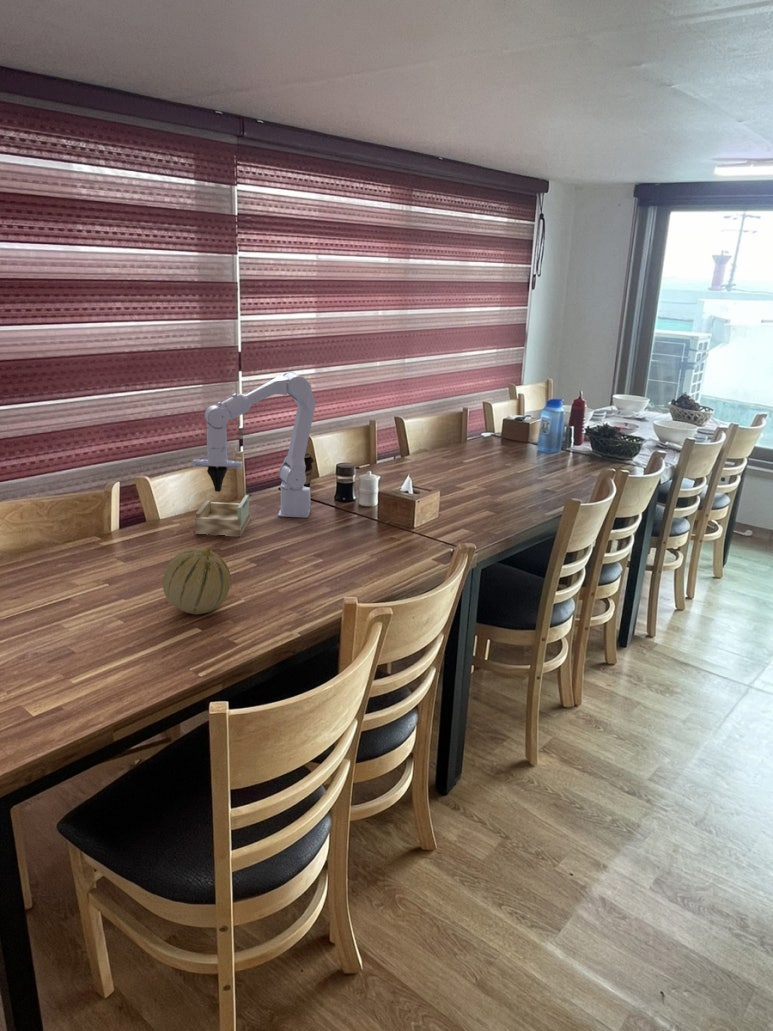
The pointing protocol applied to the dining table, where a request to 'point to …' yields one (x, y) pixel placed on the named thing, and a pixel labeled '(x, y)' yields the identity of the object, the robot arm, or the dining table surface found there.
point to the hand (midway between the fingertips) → (218, 490)
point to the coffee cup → (308, 469)
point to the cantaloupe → (196, 581)
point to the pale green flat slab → (243, 509)
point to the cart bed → (219, 519)
